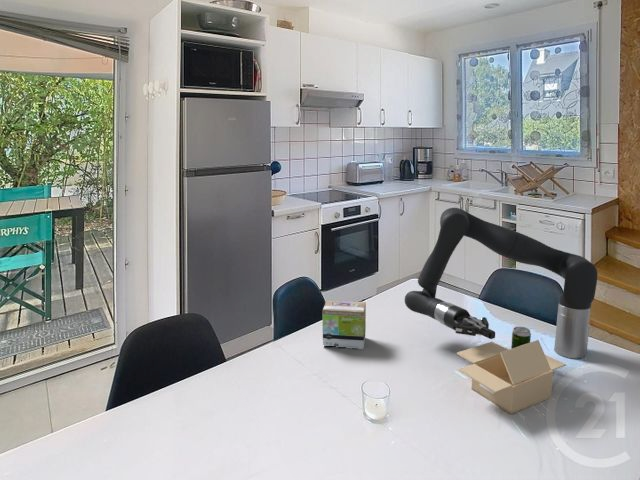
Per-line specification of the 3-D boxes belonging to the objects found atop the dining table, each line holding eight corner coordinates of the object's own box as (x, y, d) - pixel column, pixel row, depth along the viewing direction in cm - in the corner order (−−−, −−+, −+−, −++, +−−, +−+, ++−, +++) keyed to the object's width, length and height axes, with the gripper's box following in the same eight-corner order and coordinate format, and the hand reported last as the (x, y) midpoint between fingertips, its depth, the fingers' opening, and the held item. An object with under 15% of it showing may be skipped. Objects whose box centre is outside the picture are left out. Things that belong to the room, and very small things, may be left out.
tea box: (322, 348, 156) (321, 309, 153) (326, 336, 166) (325, 299, 162) (364, 350, 153) (364, 311, 150) (366, 337, 163) (365, 300, 160)
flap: (550, 370, 121) (537, 340, 123) (551, 369, 120) (538, 339, 123) (512, 384, 114) (499, 352, 117) (513, 384, 114) (500, 352, 116)
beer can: (522, 370, 137) (524, 335, 134) (506, 363, 141) (509, 329, 139) (531, 365, 140) (534, 330, 137) (516, 358, 144) (518, 325, 142)
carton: (504, 360, 143) (506, 336, 141) (564, 391, 125) (567, 364, 123) (439, 383, 131) (440, 357, 129) (495, 421, 113) (497, 392, 111)
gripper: (436, 309, 139) (477, 328, 124) (466, 301, 145) (510, 319, 130) (435, 330, 141) (476, 352, 126) (466, 322, 147) (508, 342, 132)
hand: (493, 335), depth 128 cm, fingers closed
